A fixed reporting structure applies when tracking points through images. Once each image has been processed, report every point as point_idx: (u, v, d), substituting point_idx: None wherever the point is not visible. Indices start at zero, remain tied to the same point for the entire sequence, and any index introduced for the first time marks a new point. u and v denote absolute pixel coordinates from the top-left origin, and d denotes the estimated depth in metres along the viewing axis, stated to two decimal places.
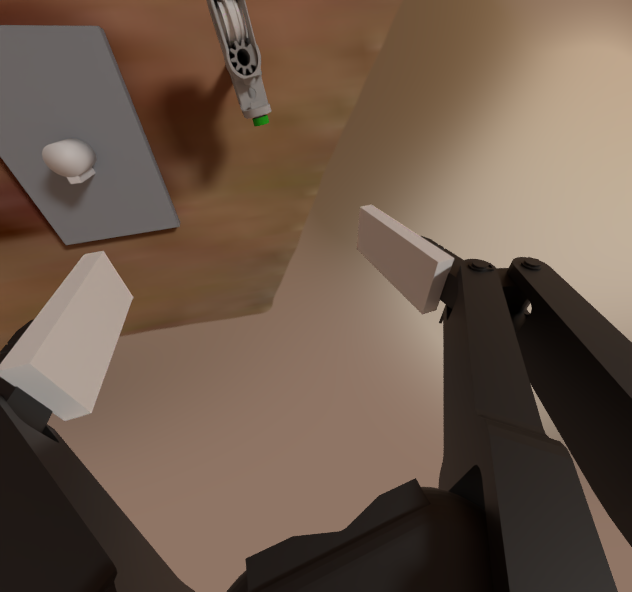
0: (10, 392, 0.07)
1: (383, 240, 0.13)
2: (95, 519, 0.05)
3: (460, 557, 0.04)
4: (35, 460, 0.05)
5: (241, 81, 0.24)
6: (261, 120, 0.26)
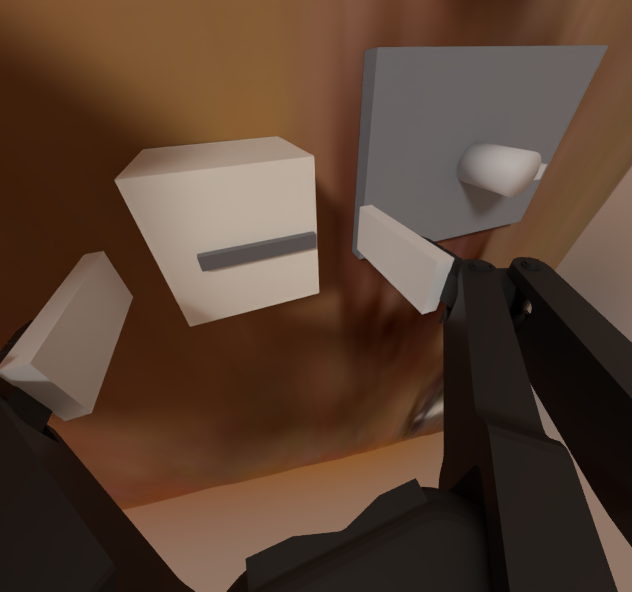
0: (10, 392, 0.07)
1: (383, 240, 0.13)
2: (95, 519, 0.05)
3: (460, 557, 0.04)
4: (35, 460, 0.05)
5: None
6: None
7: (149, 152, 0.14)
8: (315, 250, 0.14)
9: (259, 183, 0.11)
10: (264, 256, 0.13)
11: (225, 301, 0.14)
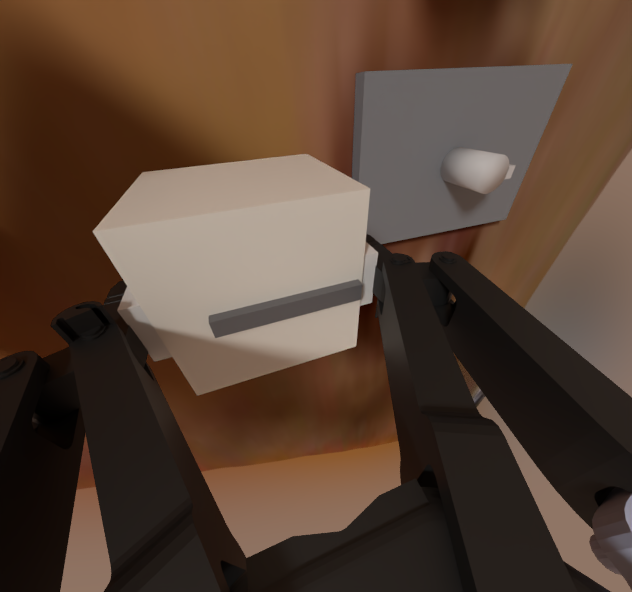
0: (125, 329, 0.08)
1: None
2: (177, 454, 0.05)
3: (460, 557, 0.04)
4: (142, 391, 0.06)
5: None
6: None
7: (149, 178, 0.11)
8: (357, 300, 0.11)
9: (295, 226, 0.08)
10: (295, 314, 0.10)
11: (241, 365, 0.11)
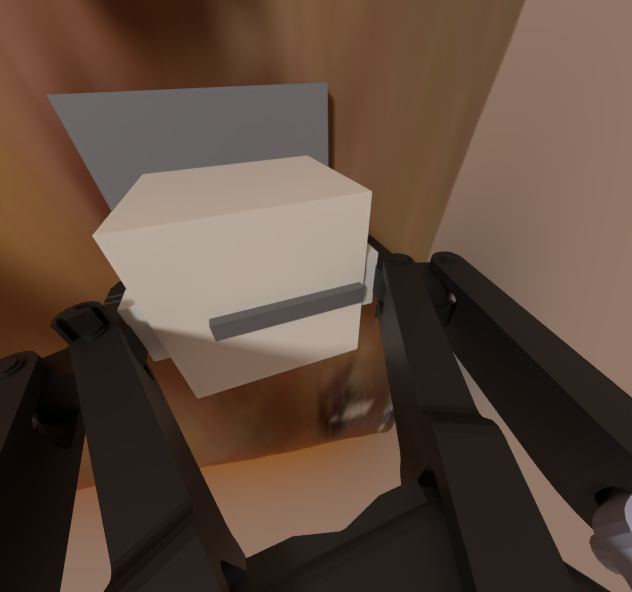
0: (125, 329, 0.08)
1: None
2: (177, 454, 0.05)
3: (460, 557, 0.04)
4: (142, 391, 0.06)
5: None
6: None
7: (149, 180, 0.11)
8: (358, 303, 0.11)
9: (296, 229, 0.08)
10: (296, 317, 0.10)
11: (242, 368, 0.11)
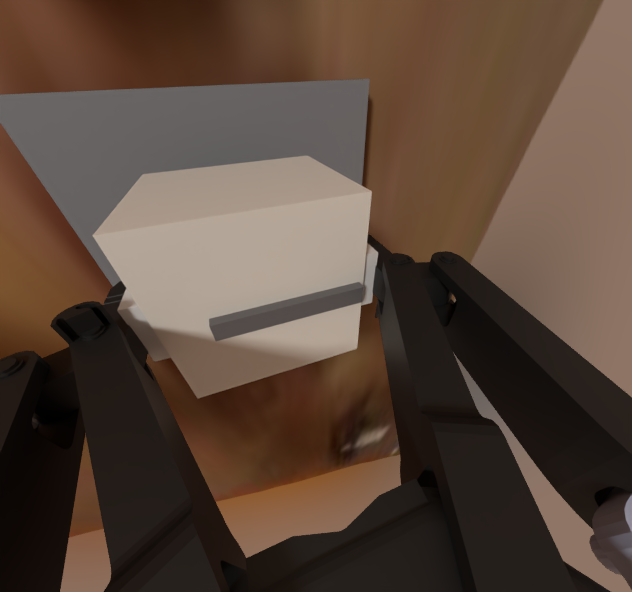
0: (125, 329, 0.08)
1: None
2: (177, 454, 0.05)
3: (460, 557, 0.04)
4: (142, 391, 0.06)
5: None
6: None
7: (149, 180, 0.11)
8: (358, 303, 0.11)
9: (296, 229, 0.08)
10: (296, 317, 0.10)
11: (242, 368, 0.11)
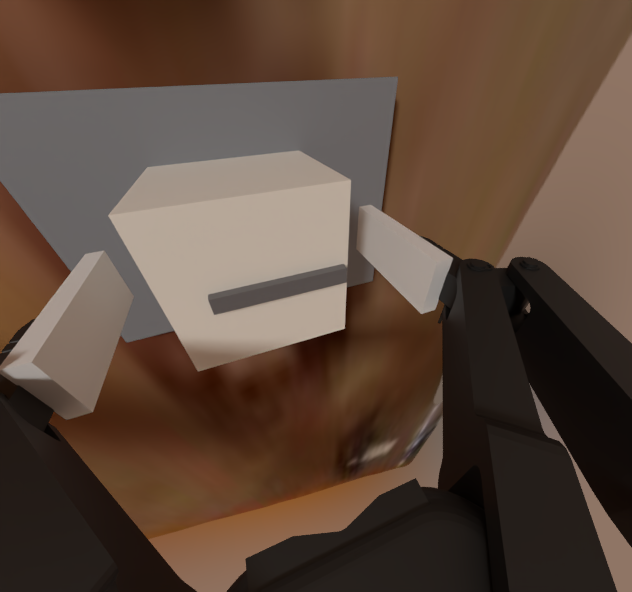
0: (12, 391, 0.07)
1: (382, 240, 0.13)
2: (96, 518, 0.05)
3: (460, 557, 0.04)
4: (37, 459, 0.05)
5: None
6: None
7: (154, 172, 0.12)
8: (344, 284, 0.12)
9: (284, 213, 0.09)
10: (286, 294, 0.11)
11: (238, 343, 0.12)
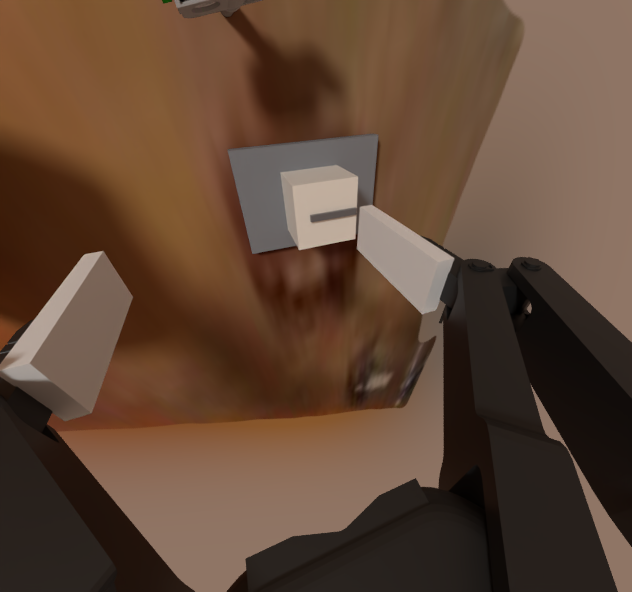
0: (10, 392, 0.07)
1: (383, 240, 0.13)
2: (95, 519, 0.05)
3: (460, 557, 0.04)
4: (35, 460, 0.05)
5: None
6: None
7: (286, 174, 0.32)
8: (355, 216, 0.33)
9: (337, 187, 0.30)
10: (335, 217, 0.31)
11: (315, 238, 0.33)
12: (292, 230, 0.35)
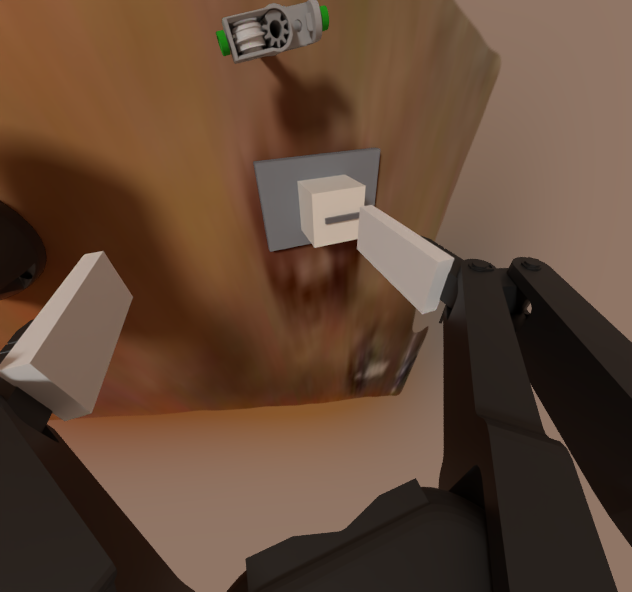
0: (10, 392, 0.07)
1: (383, 240, 0.13)
2: (95, 519, 0.05)
3: (460, 557, 0.04)
4: (35, 460, 0.05)
5: None
6: (324, 17, 0.23)
7: (303, 183, 0.38)
8: None
9: (348, 194, 0.35)
10: (345, 219, 0.37)
11: (328, 238, 0.38)
12: (307, 231, 0.40)
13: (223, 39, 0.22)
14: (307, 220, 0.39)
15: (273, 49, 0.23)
